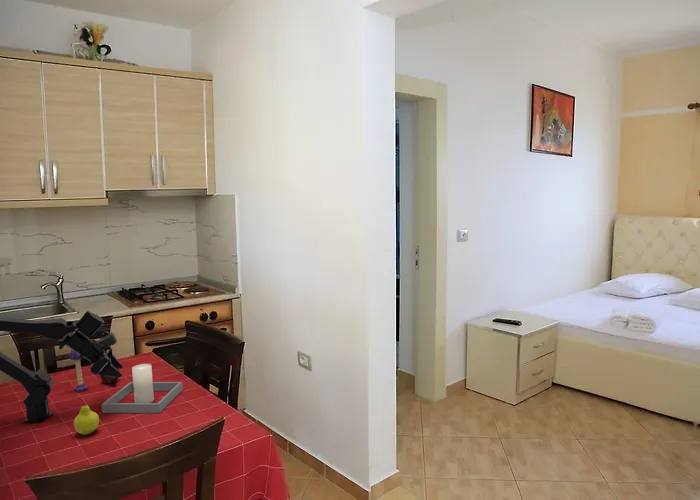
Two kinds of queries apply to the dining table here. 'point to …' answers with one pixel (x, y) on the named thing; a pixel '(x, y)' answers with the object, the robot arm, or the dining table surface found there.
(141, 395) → the white pillar candle
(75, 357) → the toy lamp
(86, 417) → the fruit
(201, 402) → the dining table surface
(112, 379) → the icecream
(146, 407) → the frame
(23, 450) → the dining table surface
